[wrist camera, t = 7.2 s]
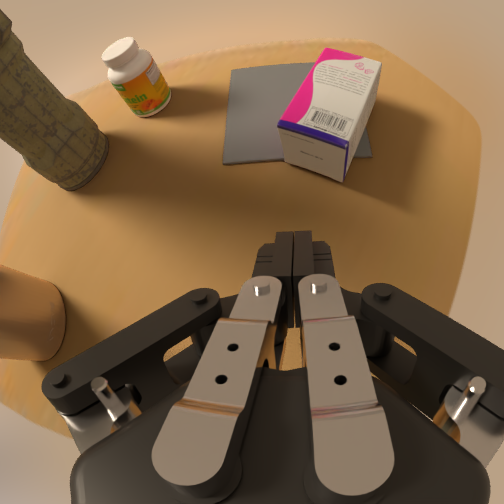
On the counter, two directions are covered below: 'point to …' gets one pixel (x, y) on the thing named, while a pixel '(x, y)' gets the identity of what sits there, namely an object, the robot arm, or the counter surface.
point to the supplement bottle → (136, 77)
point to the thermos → (45, 120)
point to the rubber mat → (264, 112)
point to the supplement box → (330, 113)
